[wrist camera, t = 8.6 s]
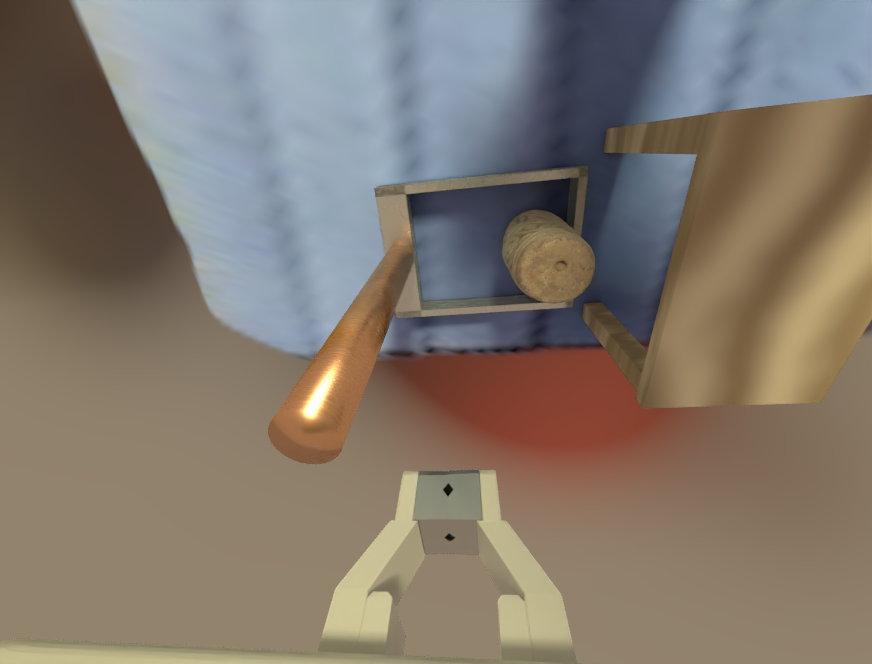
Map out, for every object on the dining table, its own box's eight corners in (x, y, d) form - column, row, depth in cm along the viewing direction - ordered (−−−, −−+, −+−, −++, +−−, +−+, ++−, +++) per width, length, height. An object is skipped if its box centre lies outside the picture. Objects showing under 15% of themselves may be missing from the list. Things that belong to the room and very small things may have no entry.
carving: (500, 204, 35) (519, 227, 24) (572, 209, 34) (622, 234, 24) (492, 262, 38) (505, 305, 27) (557, 267, 38) (596, 312, 27)
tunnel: (750, 112, 30) (1018, 78, 16) (689, 311, 39) (821, 402, 25) (601, 129, 31) (723, 111, 17) (577, 318, 40) (642, 408, 26)
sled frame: (580, 165, 32) (952, 210, 8) (566, 298, 39) (745, 540, 15) (379, 186, 34) (190, 272, 10) (399, 309, 41) (317, 539, 17)
